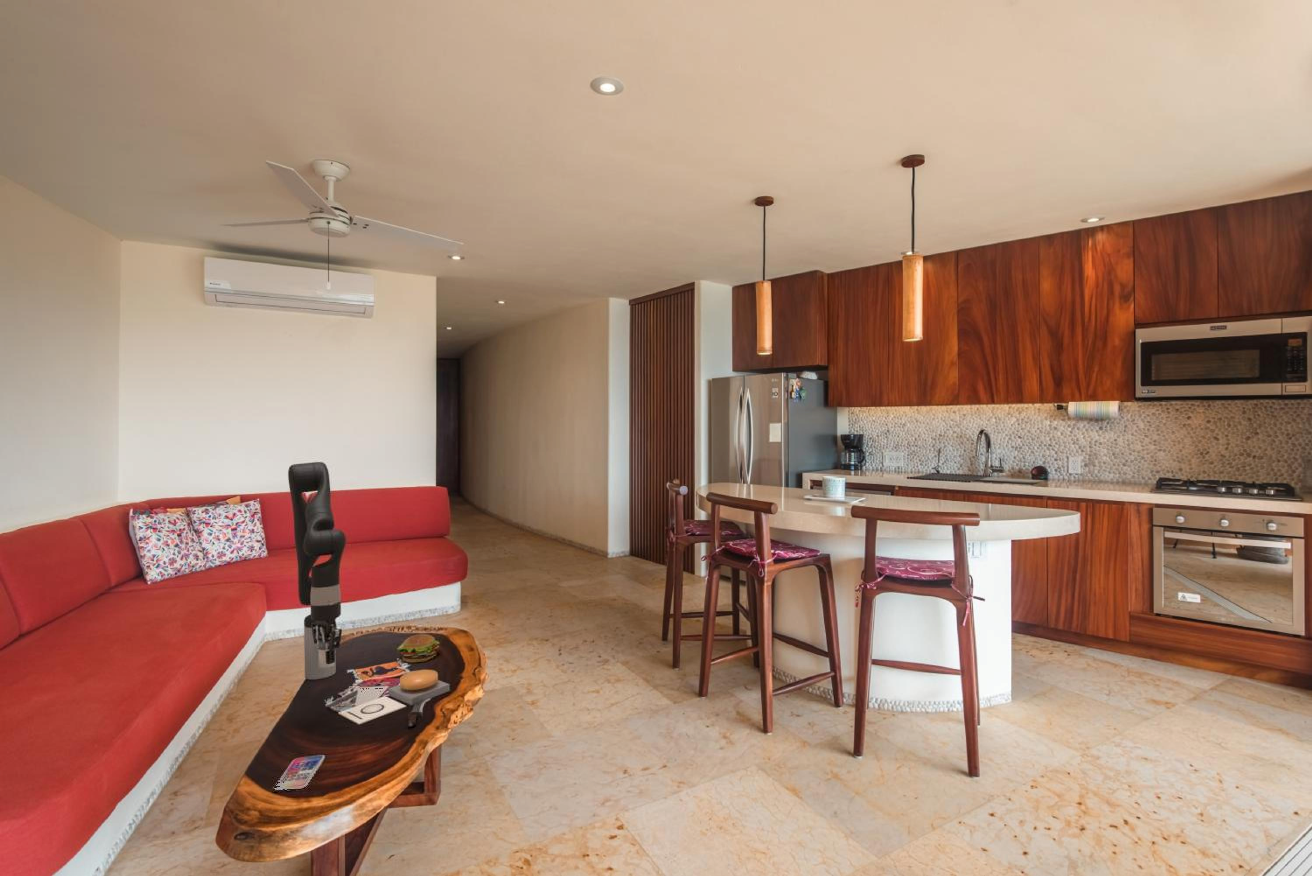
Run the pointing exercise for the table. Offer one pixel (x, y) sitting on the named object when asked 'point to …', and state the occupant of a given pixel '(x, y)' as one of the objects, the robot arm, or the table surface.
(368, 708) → the paper
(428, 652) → the food
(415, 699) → the button base
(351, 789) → the table surface
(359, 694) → the gaming console
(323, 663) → the beige capped tube
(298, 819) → the table surface
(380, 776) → the table surface
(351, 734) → the table surface
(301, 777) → the smartphone
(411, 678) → the button
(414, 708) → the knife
